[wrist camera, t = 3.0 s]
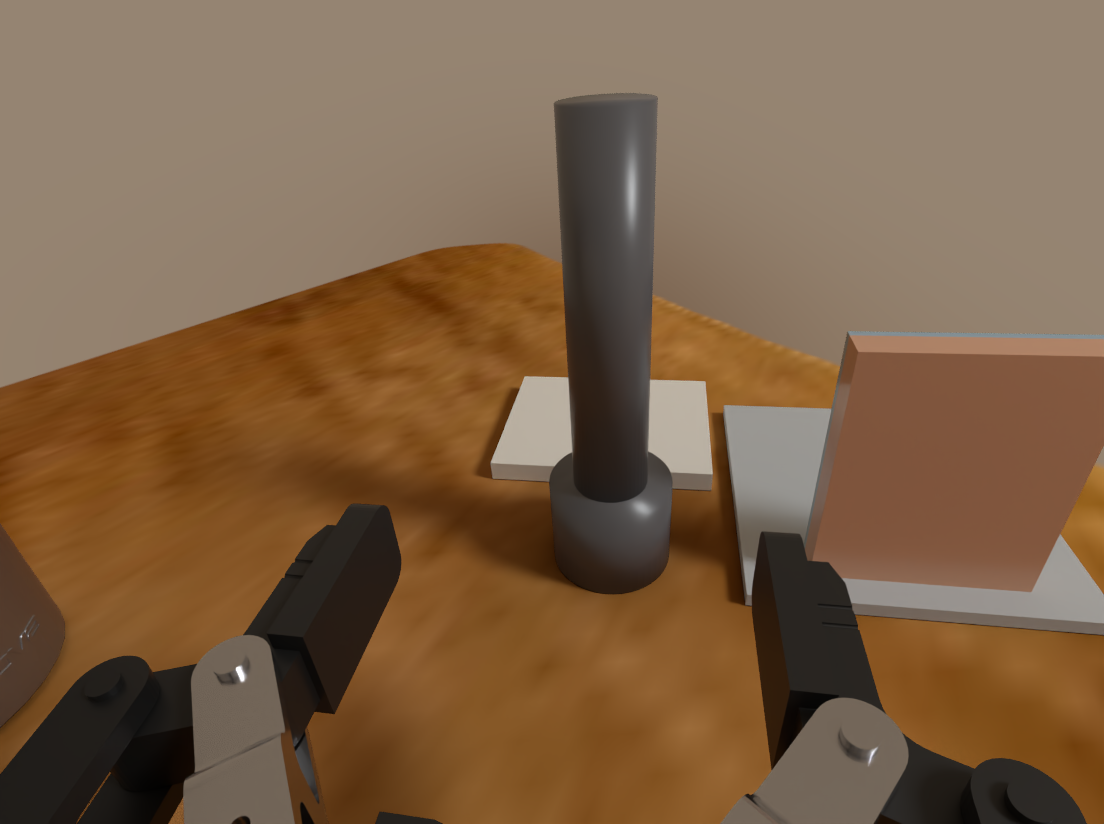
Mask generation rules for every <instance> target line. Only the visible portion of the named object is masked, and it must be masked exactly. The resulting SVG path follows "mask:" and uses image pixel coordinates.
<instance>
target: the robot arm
mask: <svg viewBox="0 0 1104 824" xmlns="http://www.w3.org/2000/svg"><path fill="white" fill-rule="evenodd" d="M400 570H401V554H400V550H399V546H398V542H397V538H396V534H395V531H394V527H393V523H392V519H391V515H390V512H389V509H388V508H387V507H386V506H384V505H369V504H351V505H350V506H349V507H348V508H347V509H346V511H345V512H344V514H343V515H342V517H341V519H340V520H339V522H338V523H337V525H336V526H335V525H327V526H325V527H324V528H323V529H322V530H320V531H319V532H318V533H317V534H315V535H314V536H313V537H312V538H310V539H309V540H308V541H307V542H306V544H305V545H304V547H303V548H302V550H301V551H300V553H299V554H298V556H297V557H296V558H295V563H292V564H291V566H290V567H289V569H288V570H287V572H286V573H285V577H284V578H282V579H281V581H280V582H279V583H278V585H277V586H276V588H275V589H274V591H273V592H272V594H271V595H270V597H269V598H268V600H267V601H266V603H265V604H264V605H263V607H262V608H261V610H260V611H259V613H258V614H257V616H256V617H255V619H254V620H253V622H252V623H251V625H250V626H249V628H248V629H247V630H246V632H245V633H244V634H243V636H238V637H234V638H231V639H228V640H226V641H224V642H222V643H220V644H218V645H217V646H215V647H214V648H212V649H211V650H210V651H209V652H207V653H206V654H205V655H204V656H203V657H202V659H201V660H200V661H199V662H198V664H194V665H189V666H184V667H178V668H173V669H168V670H163V671H157V672H152V671H151V669H150V668H149V666H148V664H147V663H146V662H145V660H143V659H142V658H139V657H137V656H121V657H117V658H113V659H110V660H108V661H105V662H103V663H101V664H99V665H97V666H96V667H94V668H92V669H91V670H89V671H88V672H87V673H85V674H84V675H83V676H82V677H81V678H79V679H78V680H77V681H76V682H75V684H74V685H73V686H72V687H71V688H70V689H69V691H68V692H67V693H66V694H65V695H64V697H63V698H62V699H61V700H60V702H59V703H58V704H57V705H56V707H55V708H54V709H53V710H52V711H51V713H50V714H49V715H48V716H47V718H46V719H45V720H44V721H43V722H42V724H41V725H40V726H39V727H38V729H37V730H36V731H35V732H34V734H33V735H32V736H31V737H30V738H29V740H28V741H27V742H26V743H25V745H24V746H23V747H22V748H21V749H20V751H19V752H18V753H17V754H16V756H15V757H14V758H13V759H12V761H11V762H10V763H9V764H8V765H7V767H6V768H5V769H4V770H3V772H2V773H1V774H0V824H76V823H77V820H78V818H79V817H80V815H81V813H82V812H83V810H84V809H85V807H86V806H87V804H88V803H89V801H90V800H91V798H92V797H93V795H94V794H95V793H96V791H97V790H98V788H99V787H100V785H101V784H102V782H103V781H104V779H105V778H106V776H107V775H108V773H109V772H111V774H110V776H109V777H108V779H107V780H106V781H105V783H104V784H103V786H102V787H101V789H100V790H99V792H98V793H97V795H96V796H95V798H94V799H93V801H92V802H91V804H90V805H89V807H88V808H87V810H86V811H85V813H84V814H83V816H82V817H81V819H80V820H79V822H78V823H77V824H168V823H169V821H170V820H171V818H172V816H173V814H174V812H175V811H176V809H177V807H178V805H179V804H180V802H181V800H182V798H183V800H184V824H329V821H328V818H327V814H326V810H325V806H324V801H323V796H322V792H321V787H320V782H319V778H318V773H317V768H316V764H315V759H314V754H313V750H312V745H311V740H310V736H309V732H308V729H307V725H308V723H309V721H310V719H311V717H312V715H313V713H314V712H321V713H329V714H335V712H336V710H337V708H338V706H339V704H340V701H341V699H342V697H343V695H344V693H345V691H346V689H347V687H348V685H349V683H350V681H351V678H352V676H353V674H354V672H355V670H356V668H357V666H358V664H359V662H360V660H361V658H362V655H363V653H364V651H365V649H366V647H367V645H368V643H369V641H370V639H371V637H372V634H373V632H374V630H375V628H376V626H377V624H378V622H379V620H380V618H381V616H382V614H383V611H384V609H385V607H386V605H387V603H388V601H389V599H390V597H391V595H392V593H393V591H394V588H395V586H396V584H397V582H398V579H399V575H400ZM752 616H753V624H754V632H755V640H756V648H757V656H758V664H759V672H760V680H761V688H762V697H763V705H764V713H765V721H766V729H767V737H768V745H769V753H770V761H771V769H772V771H771V772H770V774H769V775H768V776H767V778H766V779H765V780H764V782H763V783H762V784H761V786H760V787H759V788H758V790H757V791H756V792H755V793H754V794H752V795H749V794H746V795H744V796H743V797H742V798H741V799H740V800H739V801H738V802H737V803H736V804H735V805H734V807H733V808H732V809H731V810H730V812H729V813H728V814H727V816H726V817H725V818H724V820H723V821H722V822H721V824H1087V823H1086V821H1085V819H1084V816H1083V814H1082V813H1081V811H1080V809H1079V807H1078V806H1077V804H1076V803H1075V801H1074V800H1073V799H1072V797H1071V796H1070V795H1069V794H1068V793H1067V792H1066V791H1065V790H1064V789H1063V788H1062V787H1061V786H1060V785H1059V784H1058V783H1057V782H1056V781H1054V780H1053V779H1052V778H1050V777H1049V776H1048V775H1046V774H1045V773H1043V772H1041V771H1040V770H1038V769H1036V768H1034V767H1032V766H1030V765H1028V764H1025V763H1022V762H1020V761H1016V760H1012V759H1004V758H996V759H990V760H986V761H984V762H982V763H981V764H979V765H978V766H977V767H976V768H975V769H974V768H971V767H969V766H966V765H964V764H961V763H959V762H956V761H954V760H951V759H949V758H946V757H944V756H941V755H939V754H936V753H934V752H932V751H929V750H927V749H925V748H923V747H921V746H920V745H918V744H916V743H915V742H913V741H912V740H911V739H909V738H908V737H906V736H905V735H904V734H903V733H902V732H901V731H900V729H899V727H898V726H897V725H896V724H895V723H894V721H893V720H892V719H891V718H890V717H889V716H887V715H886V713H885V711H884V709H883V707H882V705H881V702H880V700H879V696H878V693H877V689H876V686H875V683H874V679H873V676H872V672H871V669H870V665H869V662H868V658H867V655H866V652H865V648H864V645H863V641H862V638H861V634H860V631H859V630H858V624H857V621H856V617H855V614H854V611H852V603H851V600H850V597H849V593H848V590H847V586H846V583H845V582H844V581H843V579H842V578H841V577H840V576H839V574H838V573H837V572H836V571H835V570H834V568H833V567H832V566H831V565H830V563H829V562H819V561H807V556H806V552H805V548H804V544H803V540H802V537H801V535H800V534H797V533H781V532H766V531H762V532H761V534H760V538H759V544H758V551H757V557H756V564H755V570H754V577H753V583H752ZM64 638H65V621H64V619H63V616H62V614H61V612H60V610H59V608H58V607H57V605H56V604H55V602H54V601H53V599H52V598H51V597H50V595H49V594H48V592H47V591H46V589H45V588H44V586H43V585H42V584H41V582H40V581H39V579H38V578H37V576H36V575H35V574H34V572H33V571H32V569H31V568H30V566H29V565H28V563H27V562H26V561H25V559H24V558H23V556H22V555H21V553H20V552H19V550H18V549H17V548H16V546H15V544H14V542H13V541H12V539H11V538H10V537H9V535H8V534H7V532H6V531H5V529H4V528H3V527H2V525H1V524H0V727H1V726H2V725H3V724H4V723H5V722H6V721H7V720H9V719H10V718H11V717H12V716H13V715H14V714H15V713H16V712H17V711H18V710H19V709H20V708H21V707H22V706H23V705H24V704H25V703H26V702H27V701H28V700H29V698H30V697H31V696H32V695H33V693H34V692H35V691H36V690H37V689H38V687H39V686H40V685H41V684H42V682H43V681H44V680H45V679H46V677H47V675H48V674H49V672H50V670H51V669H52V667H53V665H54V663H55V662H56V660H57V658H58V656H59V653H60V650H61V647H62V644H63V641H64ZM375 824H442V823H440V822H438V821H436V820H433V819H426V818H420V817H413V816H406V815H400V814H393V813H386V812H379V815H378V818H377V820H376V823H375Z"/></svg>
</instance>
